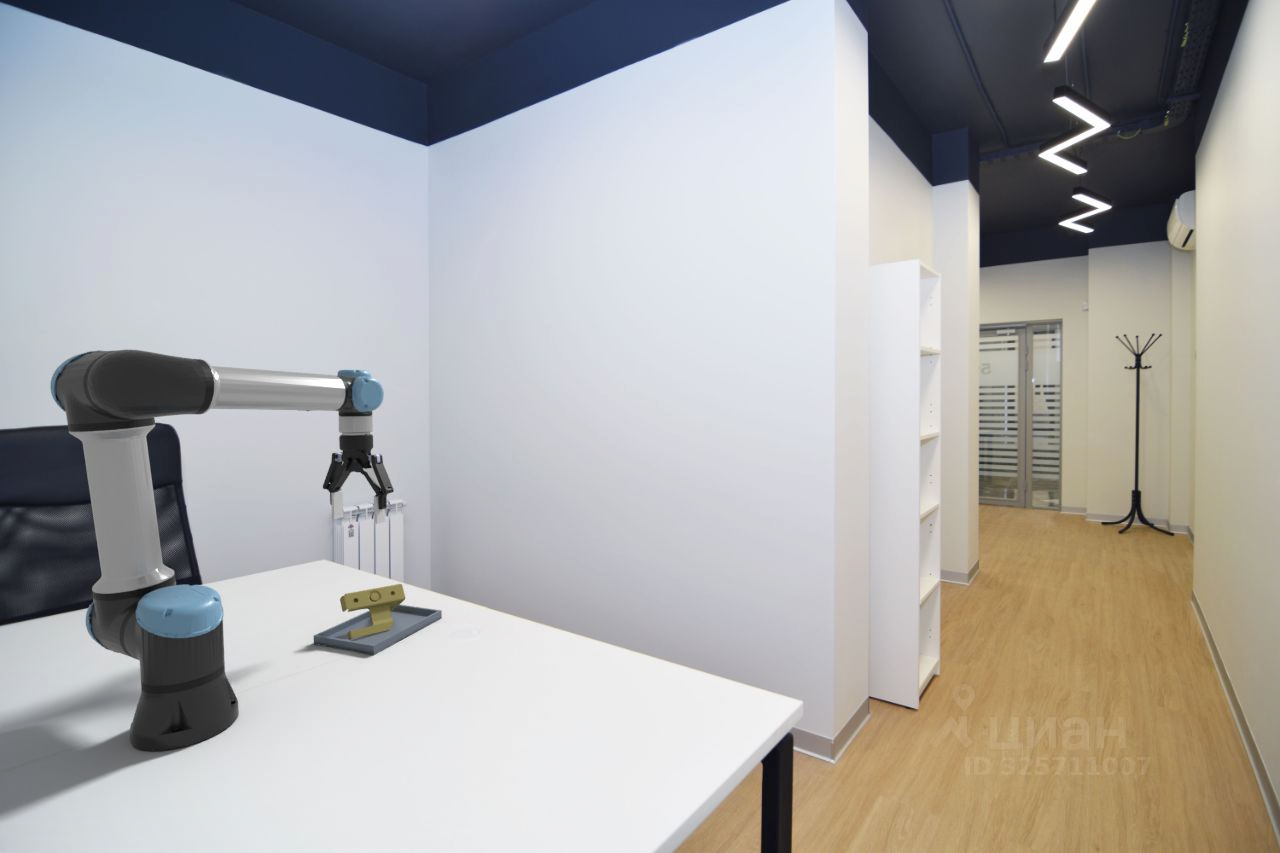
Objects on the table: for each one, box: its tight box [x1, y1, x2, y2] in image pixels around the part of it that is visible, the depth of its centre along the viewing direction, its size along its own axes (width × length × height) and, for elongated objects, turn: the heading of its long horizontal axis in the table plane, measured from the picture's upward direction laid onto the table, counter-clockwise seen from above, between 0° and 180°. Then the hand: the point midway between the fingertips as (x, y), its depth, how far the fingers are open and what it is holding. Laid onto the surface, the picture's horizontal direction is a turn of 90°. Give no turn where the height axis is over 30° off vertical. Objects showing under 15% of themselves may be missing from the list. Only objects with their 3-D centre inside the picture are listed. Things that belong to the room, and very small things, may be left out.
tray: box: [313, 604, 443, 656], centre depth 151 cm, size 23×17×2 cm
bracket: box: [339, 583, 406, 640], centre depth 152 cm, size 10×14×10 cm
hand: (358, 520), depth 153 cm, fingers open, 13 cm apart
